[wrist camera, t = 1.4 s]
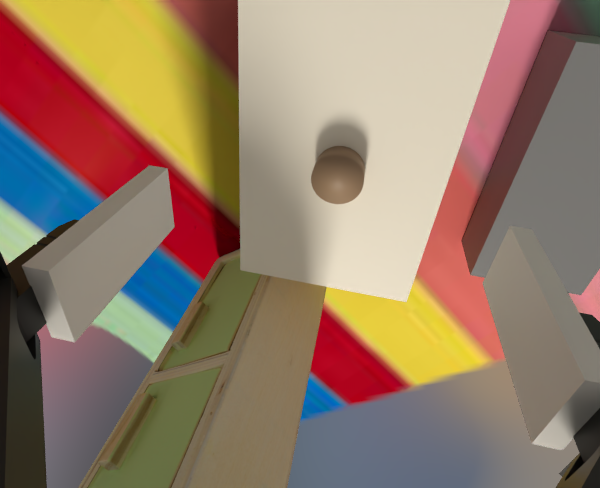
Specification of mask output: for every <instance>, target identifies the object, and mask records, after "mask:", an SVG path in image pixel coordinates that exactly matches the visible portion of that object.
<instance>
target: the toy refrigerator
mask: <svg viewBox="0 0 600 488" xmlns="http://www.w3.org/2000/svg"><path fill="white" fill-rule="evenodd" d="M325 292H326V287H325V286H320V285H315V284H310V283H305V282H299V281H294V280H289V279H284V278H279V277H273V276H268V275H263V274H258V273H253V272H247V271H242V270H240V249H238V250H236V251H234V252H231V253H229V254H226V255H224V256H222V257H219V258H218V259H217V260H216V262H215V263H214V265H213V267H212V268H211V270H210V271H209V273H208V275H207V276H206V278H205V280H204V282H203V283H202V285H201V287H200V288H199V290H198V292H197V293H196V295H195V297H194V298H193V300H192V301H191V303H190V305H189V306H188V308H187V310H186V312H185V313H184V315H183V317H182V318H181V320H180V321H179V323H178V325H177V326H176V328H175V330H174V331H173V333H172V335H171V336H170V338H169V340H168V341H167V343H166V344H165V346H164V348H163V349H162V351H161V353H160V354H159V356H158V358H157V359H156V361H155V362H154V364H153V366H152V367H151V369H150V371H149V372H148V374H147V376H146V377H145V379H144V380H143V382H142V384H141V385H140V387H139V388H138V390H137V392H136V394H135V395H134V397H133V398H132V400H131V402H130V403H129V405H128V407H127V408H126V410H125V412H124V413H123V415H122V417H121V418H120V420H119V421H118V423H117V425H116V426H115V428H114V430H113V431H112V433H111V435H110V436H109V438H108V440H107V441H106V443H105V445H104V446H103V448H102V450H101V451H100V453H99V455H98V456H97V458H96V460H95V461H94V463H93V464H92V466H91V468H90V469H89V471H88V473H87V474H86V476H85V478H84V479H83V481H82V482H81V484H80V486H79V487H78V488H287V485H288V479H289V475H290V470H291V464H292V459H293V454H294V449H295V444H296V438H297V434H298V428H299V423H300V418H301V413H302V408H303V403H304V398H305V393H306V388H307V383H308V378H309V373H310V368H311V363H312V358H313V353H314V348H315V343H316V338H317V333H318V328H319V323H320V318H321V313H322V307H323V303H324V298H325Z"/></svg>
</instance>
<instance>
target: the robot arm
mask: <svg viewBox="0 0 600 488" xmlns="http://www.w3.org/2000/svg"><path fill="white" fill-rule="evenodd" d="M173 228H174V219H173V210H172V202H171V193H170V185H169V177H168V169H167V168H161V167H155V166H148V167H147V168H146V169H144V170H143V171H142V172H140V173H139V174H138V175H137V176H135V177H134V178H133V179H132V180H130V181H129V182H128V183H126V184H125V185H124V186H123V187H121V188H120V189H119V190H118V191H116V192H115V193H114V194H112V195H111V196H110V197H109V198H107V199H106V200H105V201H104V202H102V203H101V204H100V205H98V206H97V207H96V208H95V209H93V210H92V211H91V212H90V213H88V214H87V215H86V216H84V217H83V218H82V219H81V220H72V221H70V222H67V223H65V224H63V225H60V226H58V227H57V228H56V229H54V230H53V231H52V232H50V233H49V234H48V235H47V237H44V238H42V239H41V240H40V241H38V242H37V244H36V245H35V244H34V245H33V246H32V247H30V248H29V249H28V250H26V251H25V252H24V253H22V254H21V255H20V256H18V257H17V258H16V259H14V260H13V261H12V262H10V263H9V264H8V265H6V263H5V261H4V259H3V257H2V254H1V252H0V488H47V484H46V462H45V441H44V418H43V396H42V376H41V353H40V340H39V337H38V335H37V332H38V331H39V330H40V329H41V328H42V327H43V326H44V325H45V324H46V325H47V327H48V330H49V332H50V334H51V337H53V338H58V339H62V340H67V341H71V342H75V341H76V340H77V339H78V338H79V337H80V336H81V335H82V334H83V333H84V331H85V330H86V329H87V328H88V327H89V326H90V324H91V323H92V322H93V321H94V320H95V319H96V317H97V316H98V315H99V314H100V313H101V312H102V310H103V309H104V308H105V307H106V306H107V305H108V303H109V302H110V301H111V300H112V299H113V298H114V296H115V295H116V294H117V293H118V292H119V291H120V290H121V288H122V287H123V286H124V285H125V284H126V283H127V281H128V280H129V279H130V278H131V277H132V276H133V274H134V273H135V272H136V271H137V270H138V269H139V267H140V266H141V265H142V264H143V263H144V262H145V260H146V259H147V258H148V257H149V256H150V255H151V253H152V252H153V251H154V250H155V249H156V248H157V247H158V245H159V244H160V243H161V242H162V241H163V240H164V238H165V237H166V236H167V235H168V234H169V233H170V231H171V230H172V229H173ZM483 286H484V290H485V293H486V296H487V299H488V303H489V306H490V309H491V312H492V316H493V319H494V322H495V325H496V329H497V332H498V335H499V339H500V342H501V345H502V348H503V352H504V355H505V358H506V361H507V365H508V368H509V371H510V375H511V378H512V381H513V384H514V388H515V390H516V394H517V397H518V401H519V404H520V407H521V410H522V414H523V417H524V420H525V423H526V427H527V430H528V433H529V436H530V440H531V443H532V444H535V445H540V446H544V447H549V448H554V449H558V450H563V449H564V448H565V447H566V446H567V445H568V444H569V442H570V441H571V440H572V439H573V438H574V440H575V442H576V445H577V447H578V450H579V452H580V453H579V454H578V455H577V456H576V457H575V459H573V460H572V462H570V463H569V464H568V465H567V466H566V467H565V468H564V469H563V470H562V472H560V473H559V474H560V475H561V476H562V479H561V480H560V482H559V483H558V485H557V487H556V488H600V322H599V321H598V320H597V319H596V318H595V317H593V316H592V315H589V314H584V313H579V312H578V310H577V308H576V306H575V305H574V303H573V301H572V299H571V298H570V296H569V294H568V292H567V290H566V289H565V287H564V285H563V283H562V282H561V280H560V278H559V276H558V275H557V273H556V271H555V269H554V268H553V266H552V264H551V262H550V260H549V259H548V257H547V255H546V253H545V252H544V250H543V248H542V246H541V245H540V243H539V241H538V239H537V238H536V236H535V234H534V232H533V230H532V229H526V228H520V227H514V226H510V227H509V229H508V231H507V233H506V235H505V237H504V239H503V241H502V244H501V246H500V248H499V250H498V252H497V254H496V256H495V258H494V260H493V262H492V265H491V267H490V269H489V271H488V273H487V275H486V277H485V279H484V281H483Z"/></svg>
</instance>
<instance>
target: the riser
mask: <svg viewBox="0 0 600 488" xmlns="http://www.w3.org/2000/svg"><path fill="white" fill-rule="evenodd" d="M510 226H514V227H520V228H526V229H532V230H533V232H534V234H535V236H536V238H537V239H538V241H539V243H540V245H541V246H542V248H543V250H544V252H545V253H546V255H547V257H548V259H549V260H550V262H551V264H552V266H553V268H554V269H555V271H556V273H557V275H558V276H559V278H560V280H561V282H562V283H563V285H564V287H565V289H566V290H567V292H568V293H572V294H578V295H581V294H582V293H583V292H584V290H585V289H586V287H587V286H588V284H589V283H590V282H591V280H592V279H593V277H594V276H595V275H596V273H597V272H598V270H599V269H600V36H592V35H583V34H575V33H566V32H557V31H549V30H548V31H547V34H546V36H545V39H544V41H543V43H542V46H541V48H540V51H539V53H538V56H537V58H536V61H535V63H534V65H533V68H532V70H531V73H530V75H529V78H528V80H527V83H526V85H525V87H524V90H523V92H522V95H521V97H520V100H519V102H518V105H517V107H516V109H515V112H514V114H513V117H512V119H511V122H510V124H509V127H508V129H507V131H506V134H505V136H504V139H503V141H502V144H501V146H500V149H499V151H498V153H497V156H496V158H495V161H494V163H493V166H492V168H491V171H490V173H489V175H488V178H487V180H486V183H485V185H484V188H483V190H482V193H481V195H480V197H479V200H478V202H477V205H476V207H475V210H474V212H473V215H472V217H471V219H470V222H469V224H468V227H467V229H466V232H465V234H464V237H463V239H462V245H463V248H464V252H465V256H466V260H467V264H468V268H469V272H470V275H473V276H479V277H484V278H485V277H486V275H487V273H488V271H489V269H490V267H491V265H492V262H493V260H494V258H495V256H496V254H497V252H498V250H499V248H500V246H501V244H502V241H503V239H504V237H505V235H506V233H507V231H508V229H509V227H510Z"/></svg>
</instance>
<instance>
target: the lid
mask: <svg viewBox="0 0 600 488" xmlns="http://www.w3.org/2000/svg"><path fill="white" fill-rule="evenodd" d="M509 3H510V0H238V56H239V171H240V270H242V271H247V272H253V273H258V274H263V275H268V276H273V277H279V278H284V279H289V280H294V281H299V282H305V283H310V284H315V285H320V286H325V287H331V288H336V289H341V290H346V291H351V292H357V293H362V294H367V295H372V296H378V297H383V298H388V299H393V300H398V301H404V302H407V299H408V296H409V293H410V290H411V287H412V284H413V281H414V278H415V276H416V273H417V270H418V267H419V264H420V261H421V258H422V255H423V252H424V249H425V247H426V244H427V241H428V238H429V235H430V232H431V229H432V226H433V223H434V220H435V217H436V215H437V212H438V209H439V206H440V203H441V200H442V197H443V194H444V191H445V188H446V186H447V183H448V180H449V177H450V174H451V171H452V168H453V165H454V162H455V159H456V157H457V154H458V151H459V148H460V145H461V142H462V139H463V136H464V133H465V130H466V127H467V125H468V122H469V119H470V116H471V113H472V110H473V107H474V104H475V101H476V98H477V96H478V93H479V90H480V87H481V84H482V81H483V78H484V75H485V72H486V69H487V66H488V64H489V61H490V58H491V55H492V52H493V49H494V46H495V43H496V40H497V37H498V35H499V32H500V29H501V26H502V23H503V20H504V17H505V14H506V11H507V8H508V6H509Z"/></svg>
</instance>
